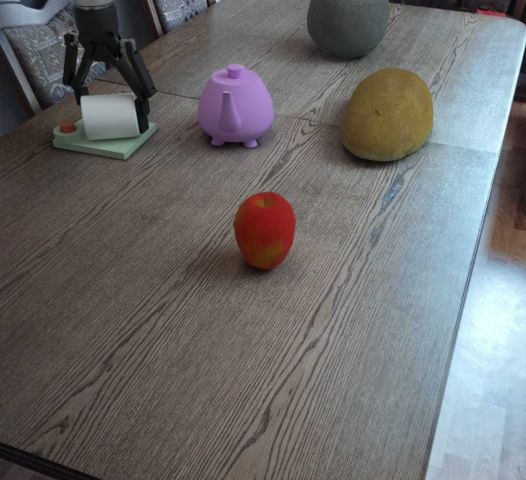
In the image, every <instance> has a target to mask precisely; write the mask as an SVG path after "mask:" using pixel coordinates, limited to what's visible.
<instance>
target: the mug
mask: <svg viewBox="0 0 526 480" xmlns="http://www.w3.org/2000/svg"><path fill="white" fill-rule="evenodd" d="M135 99H136V97H135V94H134V92H121V93H105V94H92V95H91V94H89V96H81V99H80V102H81V107H80V112H81V118H83V123H84V128H85V132H86V135H87V138H88V139H89V140H99V139H112V138H125V137H139V136H140V133H139V127H138V120H137V114H136V108H135V102H134V100H135Z"/></svg>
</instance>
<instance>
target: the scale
mask: <svg viewBox="0 0 526 480" xmlns="http://www.w3.org/2000/svg"><path fill="white" fill-rule="evenodd" d="M148 124H149V129H148V130H147V131H146V132H145V133H144V134H140V136H139V137H125V138H112V139H99V140H89V139H88V138H87V135H86V132H85V128H84V123H83V118H82V117H81V118H80V119H78V121H76V122H74V125H75V129H76V131H74V132H71V133H62V132H61V129H60V125H59V124H58V125H57V126H55V127H54V128H53V131H52V133H53V136H54V139H53V140H52V143H53V148H58V149H62V150H69V151H73V152H80V153H85V154H91V155H96V156H101V157H106V158H107V157H108V158H113V159H118V160H123V161H126V160H127V159H128V158H129V157H131V155H132V154H133V153H134V152H136V150H138V148H140V147H141V146H142V145H143V144H144V143H145V142H146V141H147V140H148V139H149V138H150V137H151V136H153V134H154V133H156V131H157V130H158V126H157V123H156V122H149V121H148Z"/></svg>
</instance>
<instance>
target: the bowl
mask: <svg viewBox="0 0 526 480" xmlns="http://www.w3.org/2000/svg"><path fill="white" fill-rule="evenodd" d="M389 18H390V0H309V4H308V9H307V14H306V29H307V32H308V35H309V37H310V38H311V40H312V42H313V43H314V44H315V45H316V46H317V47H318V48H319V49H321V50H322V51H324V52H325V53H328V54H330V55H332V56H335V57H340V58H347V59H352V58H355V59H356V58H360V57H364V56H366V55H368V54H369V53H372V52H373V51H374V50H376V48H378V46H379V45H380V44H381V43H382V41H383V39H384V37H385V35H386V33H387V30H388V25H389V20H390V19H389Z"/></svg>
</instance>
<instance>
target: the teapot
mask: <svg viewBox="0 0 526 480" xmlns="http://www.w3.org/2000/svg"><path fill="white" fill-rule="evenodd" d="M273 104H274V103H273V99H272V97H271V95H270V93H269V90H268V89H267V87H266V85H265V83H264V82H263V80H262V78H261V77H260V76H259V74H258V73H257V72H255V71H254V70H251V69H249V68H247V67H246V65H243V64H240V63H230V64H227V65H226V68H223V69H218V70H216V71H215V72H213V73H212V74H211V76H210V77H209V79H207V82H206V83H205V86H204V88H203V90H202V92H201V94H200V98H199V101H198V106H197V122H198V124H199V127H200V128H201V129H202V130H203V131H204V132H205V133H206V134H207V135H208V136H210V137H211V138H212V139H211V141H210V143H211V145H213V146H221V145H224V144H225V143H226V142H229V143H242V142H243V143H242V144H243V146H244V147H246V148H255V147H257V146H258V142H257V140H256V139H260V138H261V137H263V136H264V135H265V134H266V133H267V132H268V130H269V129H271V127H272V125H273V123H274V122H275V108H274V105H273Z"/></svg>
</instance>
